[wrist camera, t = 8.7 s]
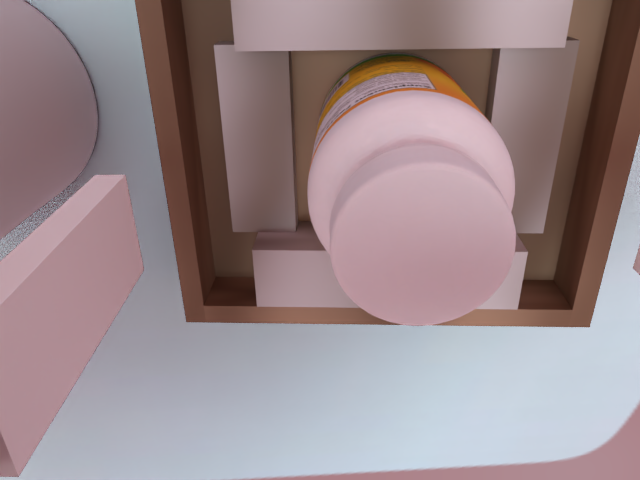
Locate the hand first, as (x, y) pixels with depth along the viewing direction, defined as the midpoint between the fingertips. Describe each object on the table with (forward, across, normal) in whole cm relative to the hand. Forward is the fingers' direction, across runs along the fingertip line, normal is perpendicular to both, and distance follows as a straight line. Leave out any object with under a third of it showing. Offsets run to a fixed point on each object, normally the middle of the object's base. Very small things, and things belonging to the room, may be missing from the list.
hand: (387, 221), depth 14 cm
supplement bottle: (+8, +1, 0) cm, 8 cm away
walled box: (+8, +1, 0) cm, 8 cm away
